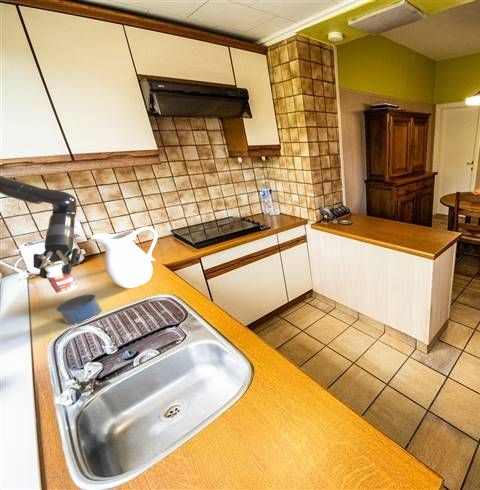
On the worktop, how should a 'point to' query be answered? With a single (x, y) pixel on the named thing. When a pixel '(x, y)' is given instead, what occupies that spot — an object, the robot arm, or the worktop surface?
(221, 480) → the worktop surface
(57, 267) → the pill bottle
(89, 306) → the crock
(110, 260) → the pitcher
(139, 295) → the worktop surface
